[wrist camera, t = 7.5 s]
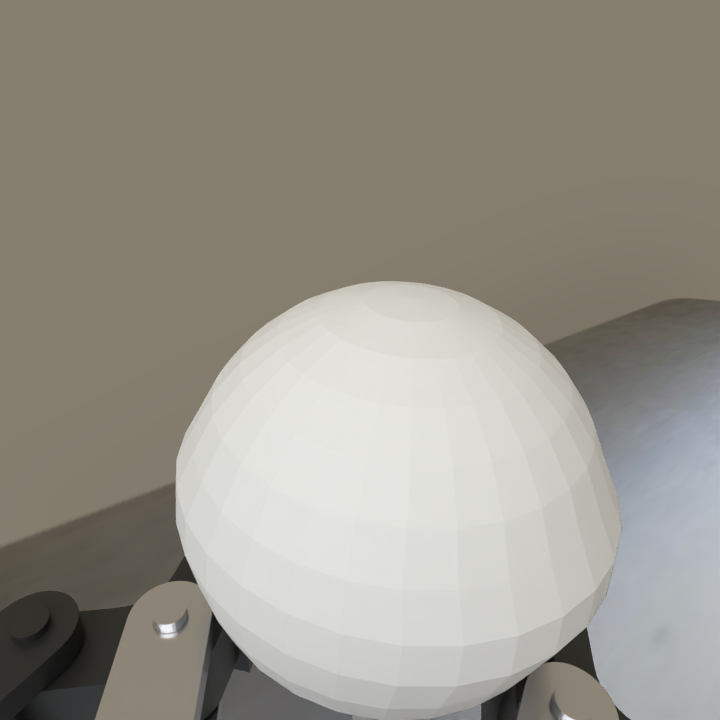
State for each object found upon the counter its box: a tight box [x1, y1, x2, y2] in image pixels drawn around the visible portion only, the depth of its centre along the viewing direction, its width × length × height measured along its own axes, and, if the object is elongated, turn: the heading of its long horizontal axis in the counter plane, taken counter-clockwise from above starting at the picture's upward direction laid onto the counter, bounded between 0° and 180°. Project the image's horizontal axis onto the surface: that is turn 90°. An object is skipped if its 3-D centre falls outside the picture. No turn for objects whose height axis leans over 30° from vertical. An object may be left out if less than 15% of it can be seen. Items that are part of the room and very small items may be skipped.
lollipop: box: [176, 281, 622, 720], centre depth 10 cm, size 6×6×15 cm
